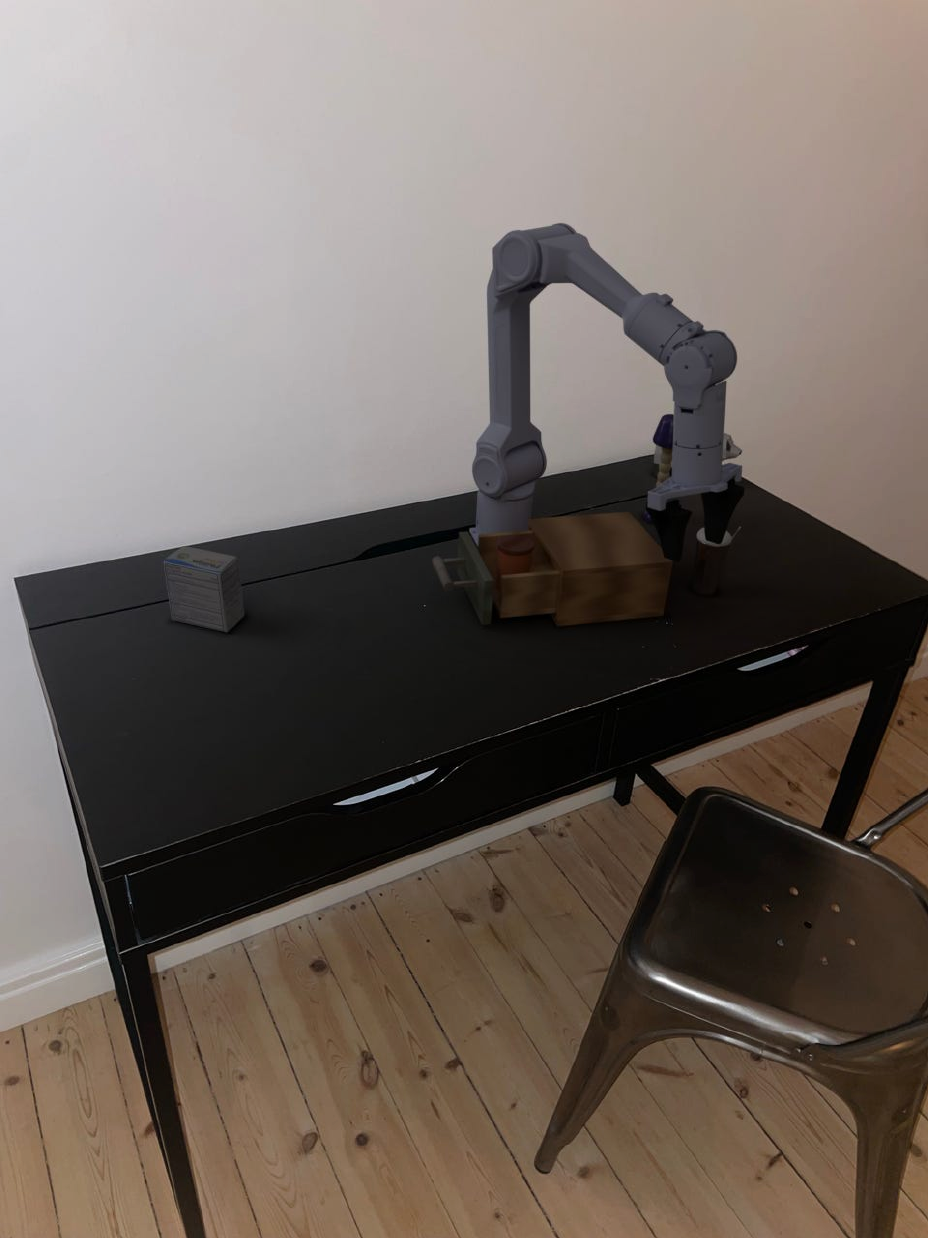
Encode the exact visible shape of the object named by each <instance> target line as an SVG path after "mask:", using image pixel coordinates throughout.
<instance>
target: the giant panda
mask: <svg viewBox="0 0 928 1238" xmlns="http://www.w3.org/2000/svg"><path fill="white" fill-rule="evenodd" d="M672 453H673V452H672ZM742 453H743V450H742V449H741V448H740V447H739V446H737V445H736V444H735V443H734V440H733V438H732V435H731V434H729V433H726V432H724V440H723V457H722V462H724V461H726V460H731V459H736V458H738V457H739V456H741V455H742ZM653 454H654V455H653V476H655V477H657V478H658V473H659V471H660V470H659V465H660V462H661V459H660V457H661V454H662V447H659V446H658V445H656V444H655V449H654V453H653ZM670 463H671V469H670V471H669V473H672V461H671V462H670Z"/></svg>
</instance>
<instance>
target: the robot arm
mask: <svg viewBox="0 0 928 1238" xmlns="http://www.w3.org/2000/svg"><path fill="white" fill-rule="evenodd" d="M491 250H492V251H491V253H492V258H491V259H492V270H491V273H490V275H489V280H488V282H487V285H486V304H487V305H486V310H487V311H486V313H487V315H486V316H487V351H488V352H487V353H488V354H487V356H488V358H487V359H488V360H487V361H488V394H489V396H488V397H489V398H488V399H489V424H488V425H487V427H486V428H485V430H483V432H482V433H481V435H480V436H479V438H478V439H477V440H476V443H475V447H476V448H475V450H476V451H475V456H474V459H473V461H472V465H471V473H472V474H471V475H472V478H473V481H474V483H475V486H476V488H478V489H477V493H476V494H477V495H476V514H475V527H469V529H468V533H469V535H470V537H471V539H472V540H473V542H474V544H475V546H476V548H478V536H479V534H490V533H504V532H517V531H527V529H528V519H532V515H533V514H532V513H533V503H534V501H533V500H534V491H535V488H537V483H538V480H539V479H540V478H542V477H543V476H544V474H545V472H546V470H547V466H548V458H547V454H546V452H545V449H544V446H543V441H542V431H541V430H540V429H539V428H538V427H537V426H536V425H534V424H533V422H531V303H532V301H534V300H535V299H536V298H537V297H538V296H540V294H541V293H542V292H543V291H544V290H545V289H546V288H547V287H548V286H550V285H552V284H572V285H574V286H576V287H577V288H578V289H580V290H581V291H583V292H584V293H585V294H587V295H588V296H590V297H591V298H593V299H594V300H595V301H597V302H598V303H600V304H601V305H602V306H603V307H605V308H606V309H608V310H609V311H611V312H612V313H613V314H615V315H616V316H618V317H619V318H620V319H621V320H622V329H623V333H624V335H625V336H626V337H627V338H628V339H629V340H631V341H632V342H633V343H635V344H636V345H637V346H638V347H639V348H641V349H642V350H643V351H644V352H646V353H647V354H648V355H649V356H650V357H651V358H653V359H654V360H655V361H656V362H658V363H659V364H660V365H661V366H663V371H664V375H665V378H666V380H667V382H668V384H669V385H670V387H671V390H672V402H673V414H674V422H673V453H672V472H671V475H670V477H669V478H668V479H667V480H666V481H664V482H663V483H662V484H661V485H659V486H658V487H657V488H656V487H655V488H653V489H651V490H649V491H647V501H646V502H645V511H647V513H648V514H649V516H650V517H651V519H652V521H653V523H654V524H653V523H652V524H653V525H654V527H655V529H656V532H657V536H658V538H659V542H660V547H661V548H662V550H663V554H664V558H666V559H669V560H671V561H673V563H678V562H681V560H682V557H683V552H684V542H685V535H686V530H687V528H688V527H687V526H688V525H689V522H690V519H691V518H692V517H691V516H692V515H693V511H692V510H689V509H686V508H683V507H682V504H680V501H683V500H686V499H689V498H691V497H694V496H697V495H700V497H701V498H700V499H701V502H702V507H703V508H702V509H703V528H704V533H705V539H706V541H709V542H712V543H715V544H721V543H722V541H723V538H724V535H725V532H726V531H727V530H728V526H729V523H730V522H731V521H730V520H731V517H732V516H733V514H734V511H735V510H736V508H737V506H738V504H739V503H740V501H741V499H743V497H744V495H745V486H743V485H740V484H737V483H739V482H741V481H742V478H743V465H741V464H737V463H733V462H727V463H724V464H723V461H722V457H723V440H724V433H725V421H726V399H727V382H728V381H727V379H728V378H729V377H731V376H732V375H733V373H734V371H735V370H736V367H737V363H738V352H737V349H736V346H735V344H734V342H733V340H731V338H730V337H729V336H728V335H727V334H726V333H725V332H724V331H722V330H718V329H711V330H707V329H704V327H705V326H704V324H702V323H701V322H700V321H699V320H696V321H694V320H692V319H691V318H690V317H689V316H687V315H686V314H685V313H684V312H683V311H681V310H680V309H678V308H677V307H676V306H675V305H673V303H674V298H673V297H671V295H669V294H667V293H662V294H660V293H658V292H648V293H645V294H642V293H641V292H640V291H639V290H638V289H637V288H636V287H635V286H634V285H632V284H631V282H629V280H627V279H626V278H625V277H623V275H621V273H619V272H618V271H617V270H616V269H615V268H614V267H613V266H611V265H610V263H608V261H606V260H605V259H604V258H603V257H601V255H600V254H599V253H598V252H597V251H595V250H594V249H593V247H592V246H591V244H590V241H589V239H588V238H587V236H585V235H584V234H582V233H580V232H577V230H575V228H574V227H573V226H571V224H570V225H569V224H568V223H564V222H557V223H553V224H551V225H547V226H541V227H535V228H529V229H522V230H521V229H515V230H510V231H509V232H507V233H506V234H505V235H504V236H502V238H501V239H500V240H498V242H496V244H494V246H493V247H492V248H491Z"/></svg>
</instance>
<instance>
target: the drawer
mask: <svg viewBox="0 0 928 1238" xmlns="http://www.w3.org/2000/svg"><path fill="white" fill-rule="evenodd" d="M507 535H521V536H525V537H527V538H529V539H531V540H532V541H533V543H534V548H533V551H532V562H531V573H521V574H510V575H501V586H500V592H499V591H498V590H497V589H496V573H497V558H498V547H497V546H498V540H499V539H500V538H501V537H503V536H507ZM457 548H458V551H457V557H455V558H442V557H441V556H438V555H437V556H434V557H432V559H431V563H432V566H433V569H434V571H435V573H436V575H437V577H438V579H439V583H440V584H441V586H442V589H443V591H444V592H446V593H451V592H453V591H454V590H455V589H457V588H464V590H465V592H466V594H467V596H468V599H469V600H470V603H471V605H472V607H473V609H474V611H475V613H476V615H477V617H478V620H479V621H480V624H481V625H482V626H487V625H491V624H492V617H493V608H494V609H495V611H496V613H497V615H498V617H499V619H507V618H516V617H527V616H538V615H539V616H540V615H547V614H549V613H556V611H557V602H558V592H559V583H560V574H561V573H560V572H559V570H558V568H557V567H556V565H555V564H554V562H553V561H552V559H551V558H550V556H549V555H548V553H547V552H546V550H545V549H544V547H543V546H542V544H541V543H540V541H539V540H538V538H537V537H536V535H535V534H534V532H533V531H532V530H531V531H517V532H504V533H490V534H479V536H478V547H477V545H476V543H475V541H474V539H473V538H472V536H471V534H470V532H469V530H468V531H467V530H466V531H459V532H458V547H457ZM450 565H457V575H458V577H459V579H460V581H453V580H452V577H451V575H450V573H449V571H448V568H447V566H450ZM549 615H550V614H549Z"/></svg>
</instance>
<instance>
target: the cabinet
mask: <svg viewBox="0 0 928 1238" xmlns="http://www.w3.org/2000/svg"><path fill="white" fill-rule="evenodd" d="M531 530H532V531H533V532H534V534H535V535H536V537H537V538H538V540H539V541H540V543H541V544H542V546H543V547H544V549H545V550H546V552H547V553H548V555H549V556H550V558H551V559H552V561H553V562H554V564H555V565H556V567H557V568H558V570H559V572H560V573H561V574H560V583H559V592H558V602H557V611H556V613H549V615H550V617H551V619H552V621H553V622H554V624H555V625H556V627H564V626H565V627H566V626H572V625H573V626H574V625H585V624H595V623H605V622H614V621H615V622H616V621H625V620H635V619H645V618H656V617H664V615H665V609H666V602H667V597H668V591H669V586H670V580H671V574H672V568H673V563H674V561H671V560H669V559H666V558H664V554H663V550H662V546H661V545H659V543H657V541H656V540H655V539H654V538H653V536H651V535H650V533H649V532H648V531H647V530H646V529H645V528H644V527H643V526H642V525H641V524H640V522H639V521H638V520H637V518H636V517H634V515H633V514H632V513H631V512H630V511H620V512H607V513H606V512H605V513H592V514H579V515H577V514H576V515H566V516H549V517H537V518H531V519H528V529H527V531H531Z"/></svg>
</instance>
